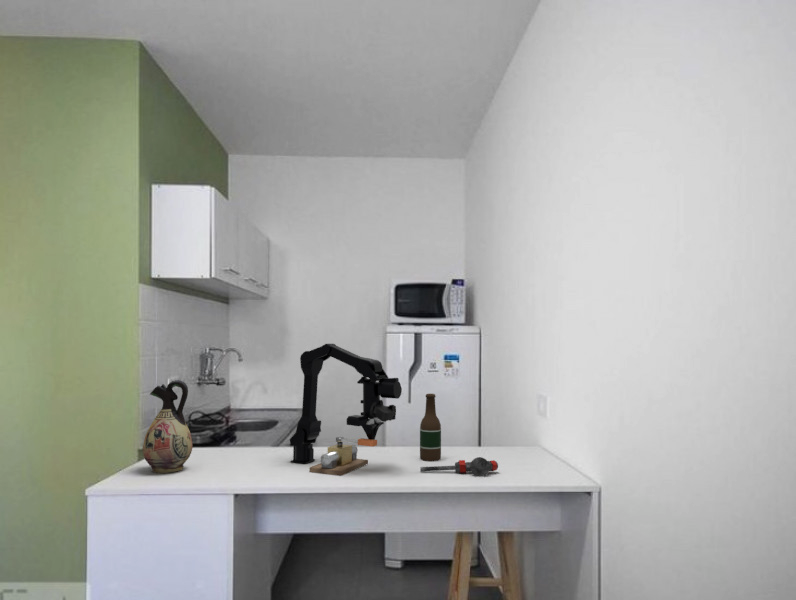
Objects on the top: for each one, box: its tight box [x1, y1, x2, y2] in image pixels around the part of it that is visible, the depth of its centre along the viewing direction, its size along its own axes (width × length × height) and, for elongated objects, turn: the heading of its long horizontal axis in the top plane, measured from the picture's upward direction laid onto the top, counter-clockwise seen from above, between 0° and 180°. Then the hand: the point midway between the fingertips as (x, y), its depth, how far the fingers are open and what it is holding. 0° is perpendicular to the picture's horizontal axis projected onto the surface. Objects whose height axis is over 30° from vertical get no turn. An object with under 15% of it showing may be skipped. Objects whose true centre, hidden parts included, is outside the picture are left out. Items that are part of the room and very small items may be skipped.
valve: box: [419, 456, 499, 478], centre depth 188 cm, size 6×26×15 cm
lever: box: [335, 436, 378, 447], centre depth 189 cm, size 15×3×2 cm, turn 62°
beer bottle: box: [419, 393, 442, 462], centre depth 207 cm, size 8×8×24 cm
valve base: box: [309, 442, 369, 476], centre depth 191 cm, size 12×19×9 cm, turn 156°
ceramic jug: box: [142, 379, 193, 474], centre depth 187 cm, size 17×15×30 cm
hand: (371, 443), depth 189 cm, fingers closed
